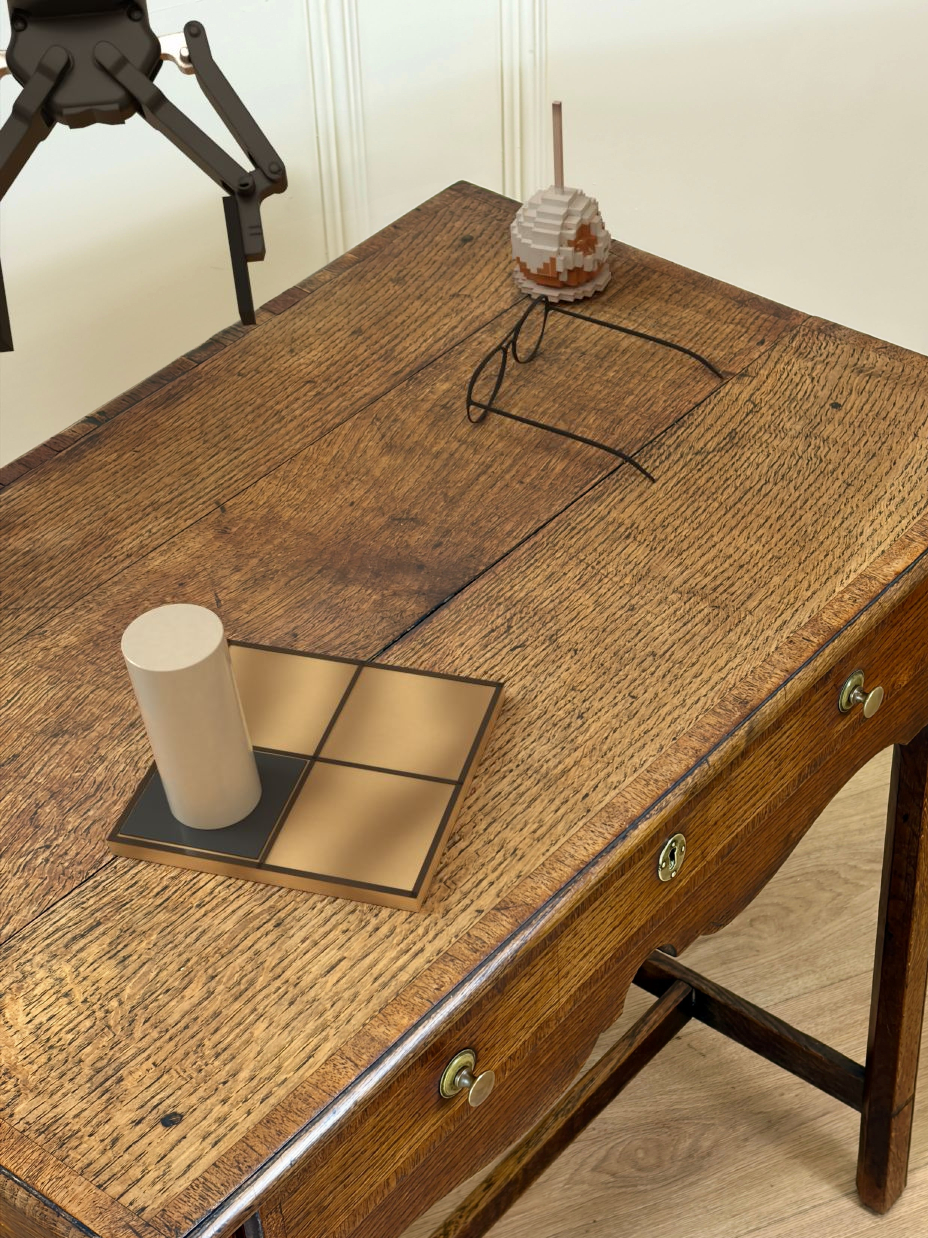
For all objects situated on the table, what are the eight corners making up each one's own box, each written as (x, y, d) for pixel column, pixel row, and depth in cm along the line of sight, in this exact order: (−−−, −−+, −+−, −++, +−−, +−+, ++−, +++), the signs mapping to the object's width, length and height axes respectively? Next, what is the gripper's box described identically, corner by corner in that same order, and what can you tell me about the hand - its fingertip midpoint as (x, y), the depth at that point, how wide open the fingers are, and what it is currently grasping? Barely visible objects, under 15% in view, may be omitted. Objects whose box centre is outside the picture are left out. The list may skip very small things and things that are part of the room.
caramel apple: (589, 314, 127) (587, 131, 116) (500, 298, 129) (489, 117, 118) (622, 267, 132) (622, 88, 121) (535, 253, 134) (528, 75, 123)
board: (111, 854, 88) (105, 839, 87) (230, 654, 100) (226, 638, 99) (418, 913, 85) (416, 897, 84) (505, 698, 96) (504, 682, 95)
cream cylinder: (153, 821, 88) (102, 662, 79) (191, 755, 92) (147, 596, 83) (240, 837, 87) (198, 678, 78) (275, 770, 91) (239, 610, 82)
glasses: (543, 339, 124) (547, 283, 121) (720, 397, 121) (730, 341, 117) (462, 437, 115) (464, 380, 112) (651, 502, 112) (660, 445, 108)
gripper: (298, -33, 94) (349, 325, 94) (-139, 4, 91) (-84, 373, 91) (290, -100, 86) (346, 289, 87) (-186, -62, 83) (-126, 340, 84)
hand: (125, 333), depth 89 cm, fingers open, 13 cm apart
